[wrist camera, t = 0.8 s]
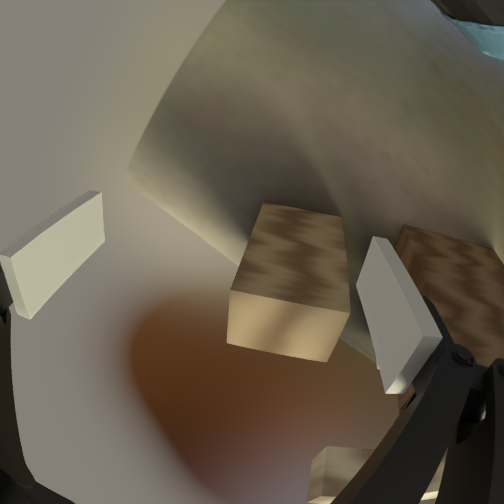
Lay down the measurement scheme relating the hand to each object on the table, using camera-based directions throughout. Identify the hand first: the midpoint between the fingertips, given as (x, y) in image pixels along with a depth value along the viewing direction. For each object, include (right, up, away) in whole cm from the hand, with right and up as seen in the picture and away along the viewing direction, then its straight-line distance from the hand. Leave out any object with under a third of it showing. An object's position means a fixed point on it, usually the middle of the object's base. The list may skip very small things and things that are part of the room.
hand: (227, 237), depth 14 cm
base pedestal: (+8, +2, +30) cm, 31 cm away
